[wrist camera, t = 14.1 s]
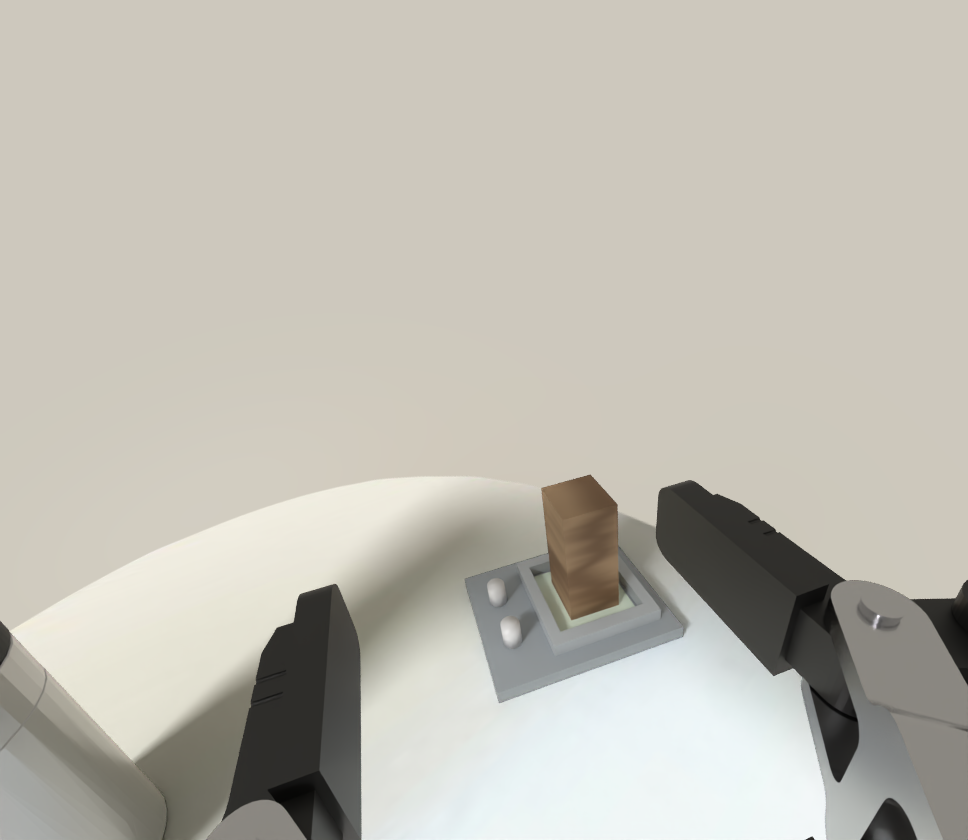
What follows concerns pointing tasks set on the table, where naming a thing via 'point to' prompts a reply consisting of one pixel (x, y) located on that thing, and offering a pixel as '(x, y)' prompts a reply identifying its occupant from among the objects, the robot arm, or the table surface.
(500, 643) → the housing
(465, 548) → the table surface
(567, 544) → the block
